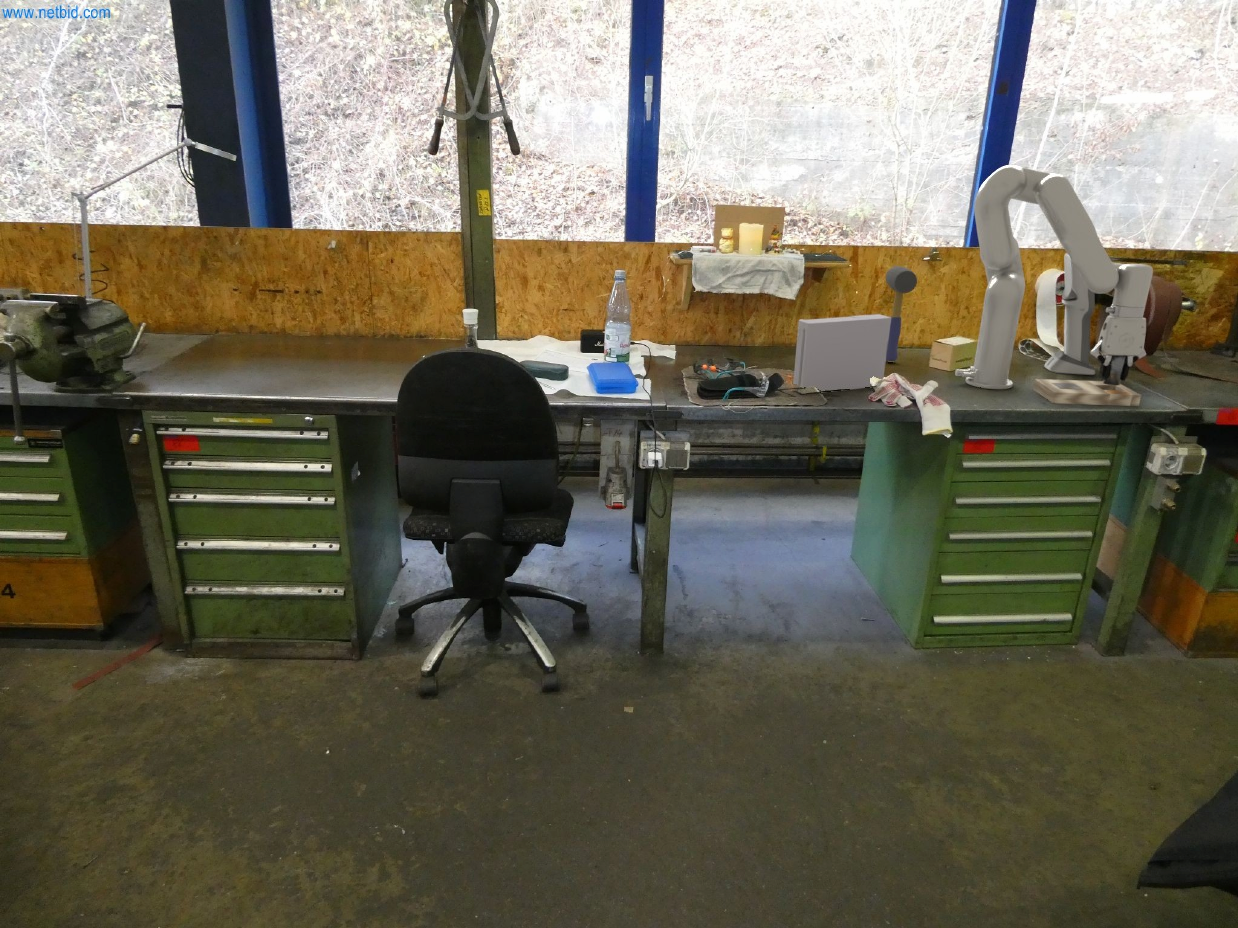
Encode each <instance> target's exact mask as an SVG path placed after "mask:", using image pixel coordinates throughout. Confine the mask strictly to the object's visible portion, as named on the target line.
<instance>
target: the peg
mask: <svg viewBox="0 0 1238 928" xmlns="http://www.w3.org/2000/svg"><path fill="white" fill-rule="evenodd" d="M1125 359H1126V356H1113V355H1112V357H1111V360H1110V362H1109V366H1110V370H1109V375H1108V379H1107V380H1103V379H1102V381H1103V383H1104V384H1108V385H1120V384H1121V381H1122V380H1121V377H1122V373H1123V368H1124V364H1125Z"/></svg>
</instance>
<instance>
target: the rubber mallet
mask: <svg viewBox="0 0 1238 928" xmlns="http://www.w3.org/2000/svg"><path fill="white" fill-rule="evenodd" d="M885 282H886V284H887V285H888V286H889V287H890V288H891V289H892V290H894V291H895V292H894V296H893V297H894V299H893V305H892V312H891V316H890V317H891V324H890V331H889V339H888V347H887V355H886V361H895V362H896V361H897V359H898V357H899V356H898V347H899V339H900V336H901V330H902V316H901V313H902V307H903V306H902V305H903V300H904V299H903V298H904V294H907V293H910V292H912V291H913V290H914V289H915V288H916V287H917V284H918V276H917V275H916V274H915V272H913V271H912V270H911V269H909V268H907V267H904V266H901V265H897V266H892V267H890V268H889V269H888V271H887V272H886V275H885Z"/></svg>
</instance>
